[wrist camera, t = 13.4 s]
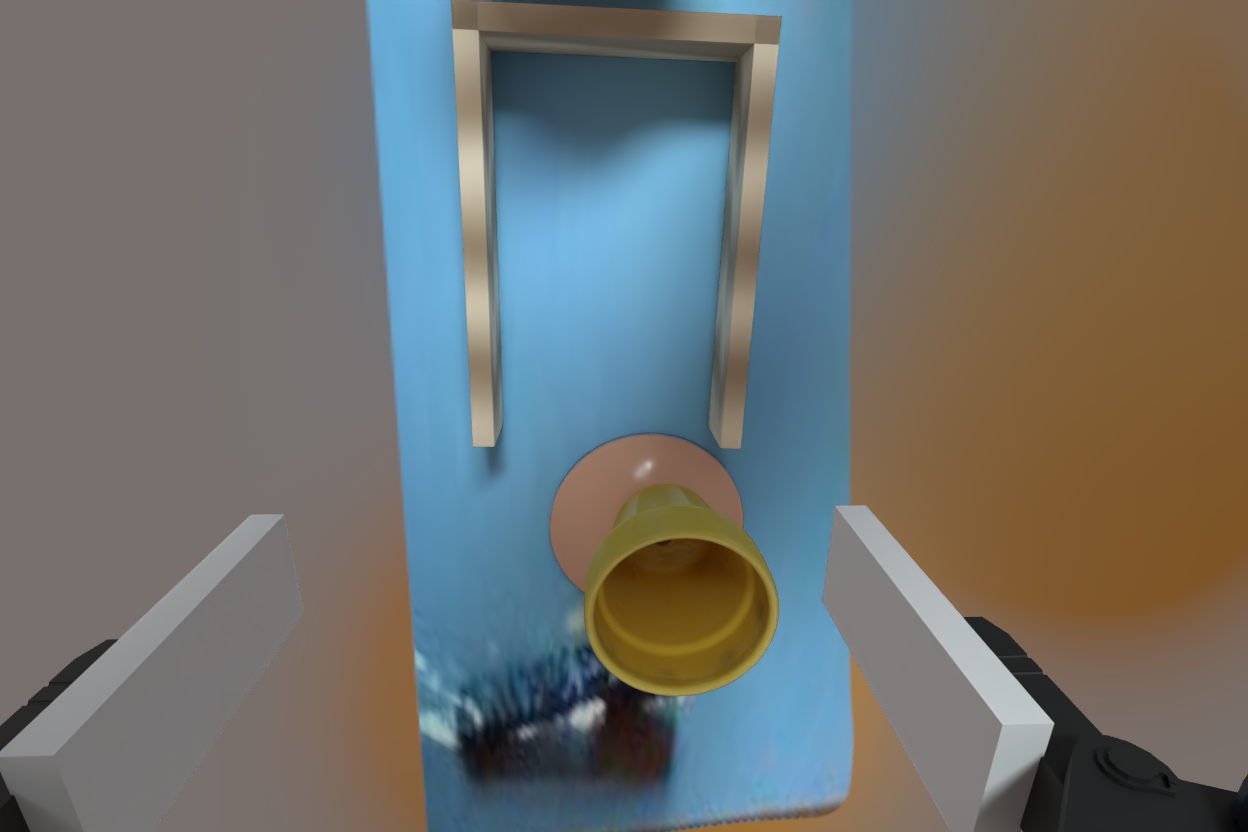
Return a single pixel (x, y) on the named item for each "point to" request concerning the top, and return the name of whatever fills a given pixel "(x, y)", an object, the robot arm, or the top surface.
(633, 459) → the disc
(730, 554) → the plant pot
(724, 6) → the top surface
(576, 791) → the top surface
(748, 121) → the slot cradle
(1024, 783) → the robot arm
